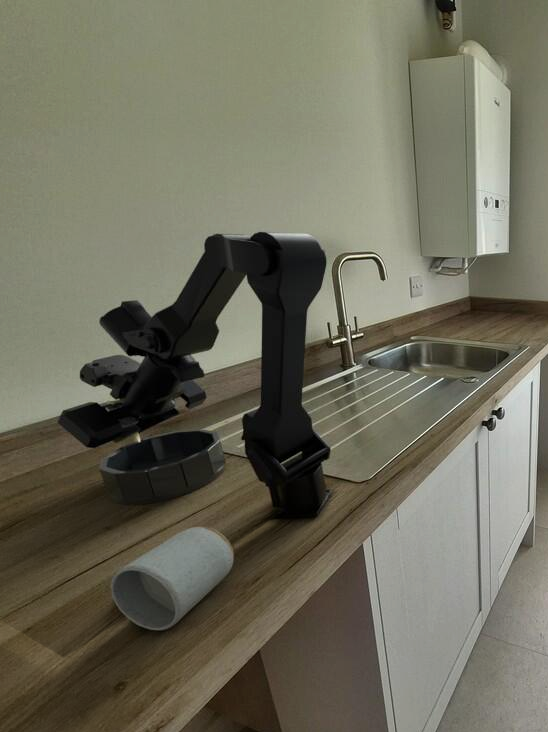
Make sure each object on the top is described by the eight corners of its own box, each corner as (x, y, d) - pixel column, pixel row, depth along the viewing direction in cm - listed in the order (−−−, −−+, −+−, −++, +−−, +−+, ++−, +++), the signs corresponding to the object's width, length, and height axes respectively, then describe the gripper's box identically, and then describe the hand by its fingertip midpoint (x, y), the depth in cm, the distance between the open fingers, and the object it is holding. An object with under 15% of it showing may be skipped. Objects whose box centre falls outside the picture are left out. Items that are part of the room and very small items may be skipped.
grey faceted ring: (246, 464, 71) (229, 395, 67) (149, 513, 58) (121, 431, 54) (182, 449, 77) (162, 384, 73) (81, 490, 64) (50, 414, 60)
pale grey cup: (246, 574, 49) (231, 519, 46) (186, 635, 41) (164, 574, 39) (168, 567, 50) (149, 514, 48) (95, 625, 42) (68, 565, 40)
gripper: (175, 329, 71) (141, 385, 77) (42, 355, 54) (10, 426, 59) (225, 374, 72) (188, 426, 78) (110, 414, 55) (73, 479, 60)
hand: (123, 437), depth 69 cm, fingers closed on grey faceted ring, 2 cm apart
